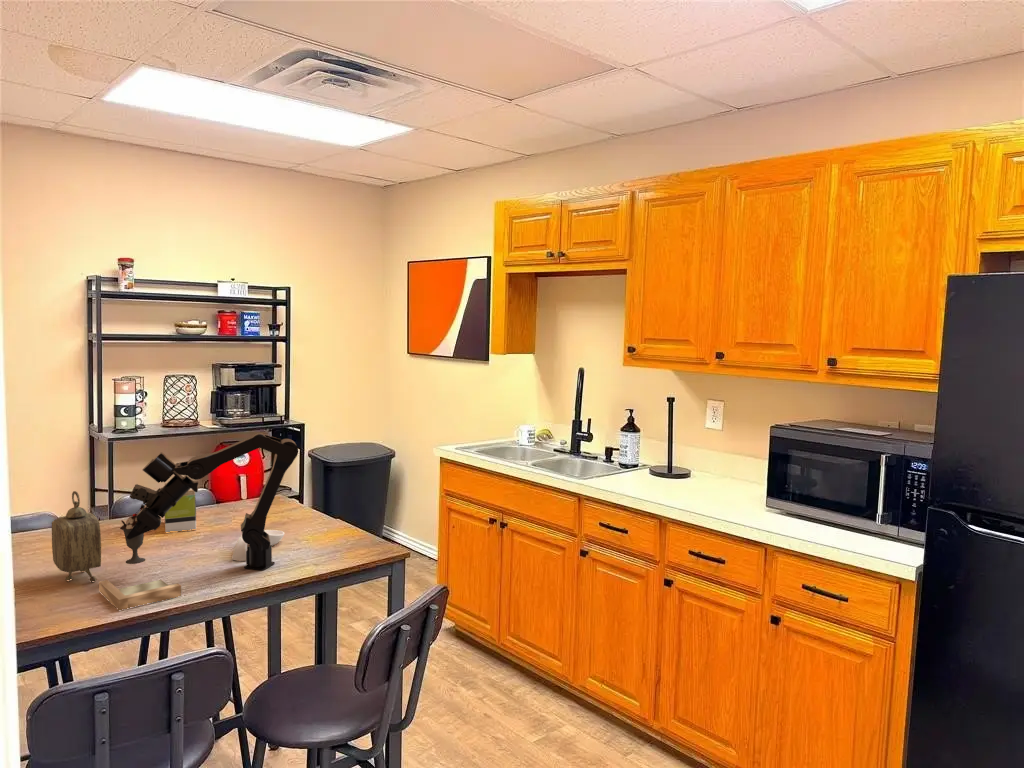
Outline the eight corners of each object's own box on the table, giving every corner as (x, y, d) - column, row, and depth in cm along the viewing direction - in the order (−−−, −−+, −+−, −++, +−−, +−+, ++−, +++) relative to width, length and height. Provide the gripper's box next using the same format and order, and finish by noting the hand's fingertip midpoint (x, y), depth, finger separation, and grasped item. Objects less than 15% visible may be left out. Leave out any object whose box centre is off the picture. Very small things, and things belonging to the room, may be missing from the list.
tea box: (165, 522, 261) (164, 482, 259) (195, 520, 265) (194, 480, 264) (164, 534, 247) (163, 491, 246) (196, 531, 251) (195, 489, 250)
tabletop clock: (102, 582, 201) (99, 494, 198) (64, 590, 194) (61, 499, 192) (88, 569, 211) (85, 485, 209) (52, 576, 205) (49, 489, 203)
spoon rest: (256, 538, 245) (256, 517, 244) (290, 540, 243) (290, 519, 243) (221, 561, 221) (221, 538, 220) (258, 563, 220) (258, 540, 219)
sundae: (154, 558, 206) (152, 506, 205) (136, 566, 200) (134, 512, 198) (135, 556, 208) (133, 504, 206) (116, 563, 201) (114, 510, 200)
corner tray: (158, 579, 204) (158, 569, 204) (181, 596, 192) (180, 585, 192) (99, 592, 193) (98, 581, 193) (119, 611, 181) (118, 599, 181)
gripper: (151, 468, 212) (110, 508, 209) (144, 481, 194) (99, 525, 191) (181, 492, 215) (141, 532, 212) (177, 508, 198) (134, 551, 195)
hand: (129, 535), depth 203 cm, fingers closed on sundae, 6 cm apart
